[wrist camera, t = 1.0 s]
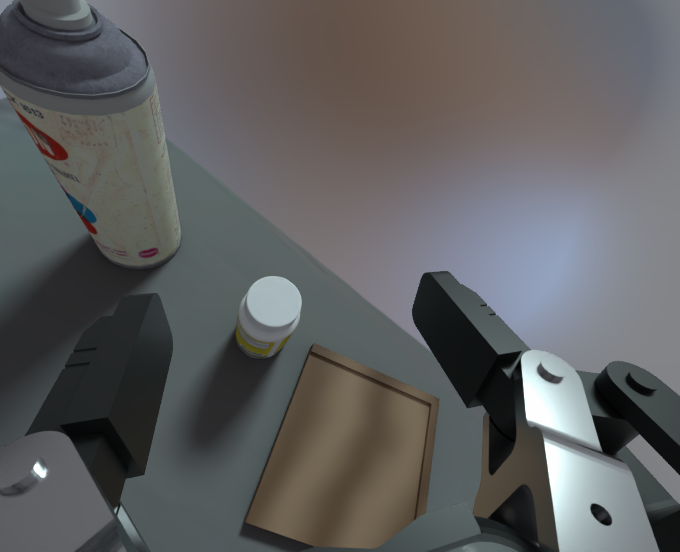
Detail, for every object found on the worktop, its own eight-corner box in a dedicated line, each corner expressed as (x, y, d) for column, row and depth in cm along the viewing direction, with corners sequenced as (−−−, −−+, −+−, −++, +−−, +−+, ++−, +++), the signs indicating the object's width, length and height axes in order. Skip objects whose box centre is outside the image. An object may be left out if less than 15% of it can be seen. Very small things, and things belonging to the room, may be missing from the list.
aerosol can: (87, 218, 28) (-94, -96, 12) (167, 202, 32) (114, -58, 15) (110, 280, 27) (-62, 15, 10) (192, 256, 30) (164, 29, 14)
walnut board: (244, 520, 22) (245, 523, 22) (311, 346, 30) (314, 343, 29) (409, 577, 24) (417, 582, 23) (433, 400, 32) (439, 398, 31)
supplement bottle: (278, 305, 31) (296, 266, 24) (292, 350, 29) (316, 322, 22) (229, 317, 29) (233, 277, 22) (241, 366, 27) (250, 340, 20)
